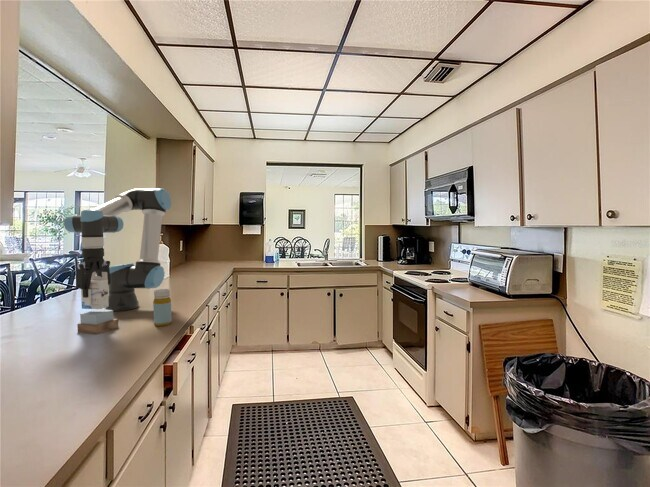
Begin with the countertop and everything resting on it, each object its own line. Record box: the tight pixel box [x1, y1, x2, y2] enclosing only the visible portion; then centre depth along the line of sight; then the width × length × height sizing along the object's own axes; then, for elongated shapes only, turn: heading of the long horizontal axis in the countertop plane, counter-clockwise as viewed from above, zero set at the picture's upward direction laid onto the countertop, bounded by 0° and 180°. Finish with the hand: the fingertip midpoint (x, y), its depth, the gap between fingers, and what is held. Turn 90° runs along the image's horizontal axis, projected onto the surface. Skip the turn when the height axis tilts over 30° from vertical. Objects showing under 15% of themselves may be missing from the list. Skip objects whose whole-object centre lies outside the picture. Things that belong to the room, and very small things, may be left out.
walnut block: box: [76, 318, 119, 335], centre depth 141 cm, size 10×10×4 cm
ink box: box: [80, 271, 109, 310], centre depth 140 cm, size 8×5×15 cm, turn 86°
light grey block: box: [79, 308, 114, 325], centre depth 141 cm, size 8×8×4 cm
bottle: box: [152, 288, 172, 327], centre depth 149 cm, size 7×7×15 cm
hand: (95, 303), depth 140 cm, fingers closed on ink box, 6 cm apart
